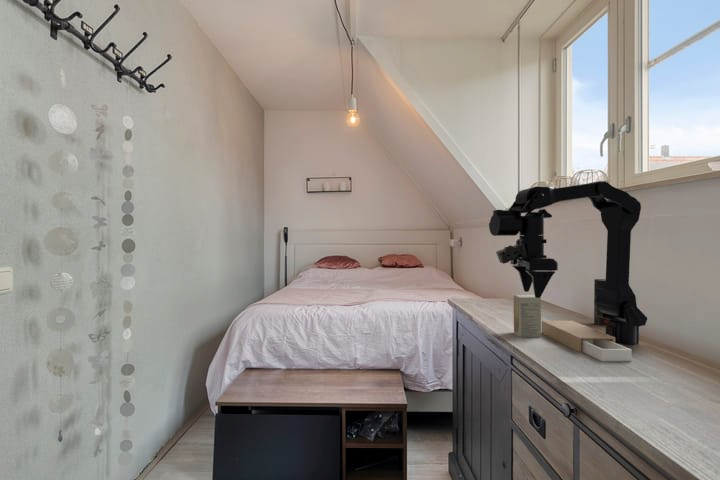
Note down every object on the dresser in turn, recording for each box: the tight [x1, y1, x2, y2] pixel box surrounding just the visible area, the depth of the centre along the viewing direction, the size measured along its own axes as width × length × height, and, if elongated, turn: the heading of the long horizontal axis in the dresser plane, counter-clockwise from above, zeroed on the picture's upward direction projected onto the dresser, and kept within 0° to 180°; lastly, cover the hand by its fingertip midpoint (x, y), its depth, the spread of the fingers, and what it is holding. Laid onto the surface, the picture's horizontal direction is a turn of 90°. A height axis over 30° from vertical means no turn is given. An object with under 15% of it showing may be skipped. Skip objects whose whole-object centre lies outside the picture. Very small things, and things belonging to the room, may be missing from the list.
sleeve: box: [541, 320, 615, 353], centre depth 88 cm, size 9×16×4 cm, turn 1°
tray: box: [581, 339, 633, 362], centre depth 82 cm, size 7×16×3 cm, turn 1°
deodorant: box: [593, 278, 609, 327], centre depth 107 cm, size 6×6×15 cm
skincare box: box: [512, 294, 542, 338], centre depth 94 cm, size 6×4×12 cm
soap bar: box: [582, 339, 593, 344], centre depth 86 cm, size 3×5×2 cm, turn 1°
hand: (531, 294), depth 86 cm, fingers open, 9 cm apart
